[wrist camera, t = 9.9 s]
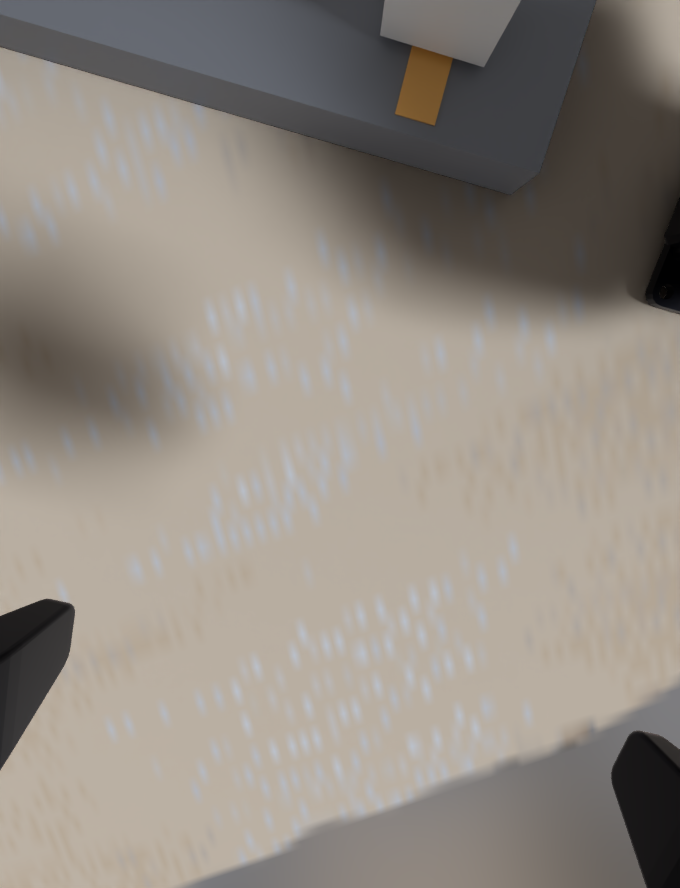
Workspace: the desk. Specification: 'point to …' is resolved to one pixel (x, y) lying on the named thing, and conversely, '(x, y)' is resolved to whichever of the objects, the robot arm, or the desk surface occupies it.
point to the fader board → (330, 73)
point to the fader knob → (449, 25)
